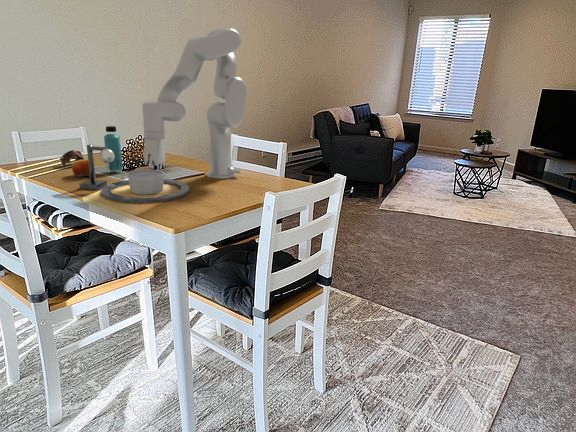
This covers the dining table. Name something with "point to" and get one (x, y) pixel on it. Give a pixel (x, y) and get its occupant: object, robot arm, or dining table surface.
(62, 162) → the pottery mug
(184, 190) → the ring
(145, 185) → the ramekin
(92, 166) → the dial gauge stand
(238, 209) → the dining table surface
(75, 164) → the fruit
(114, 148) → the beverage bottle
